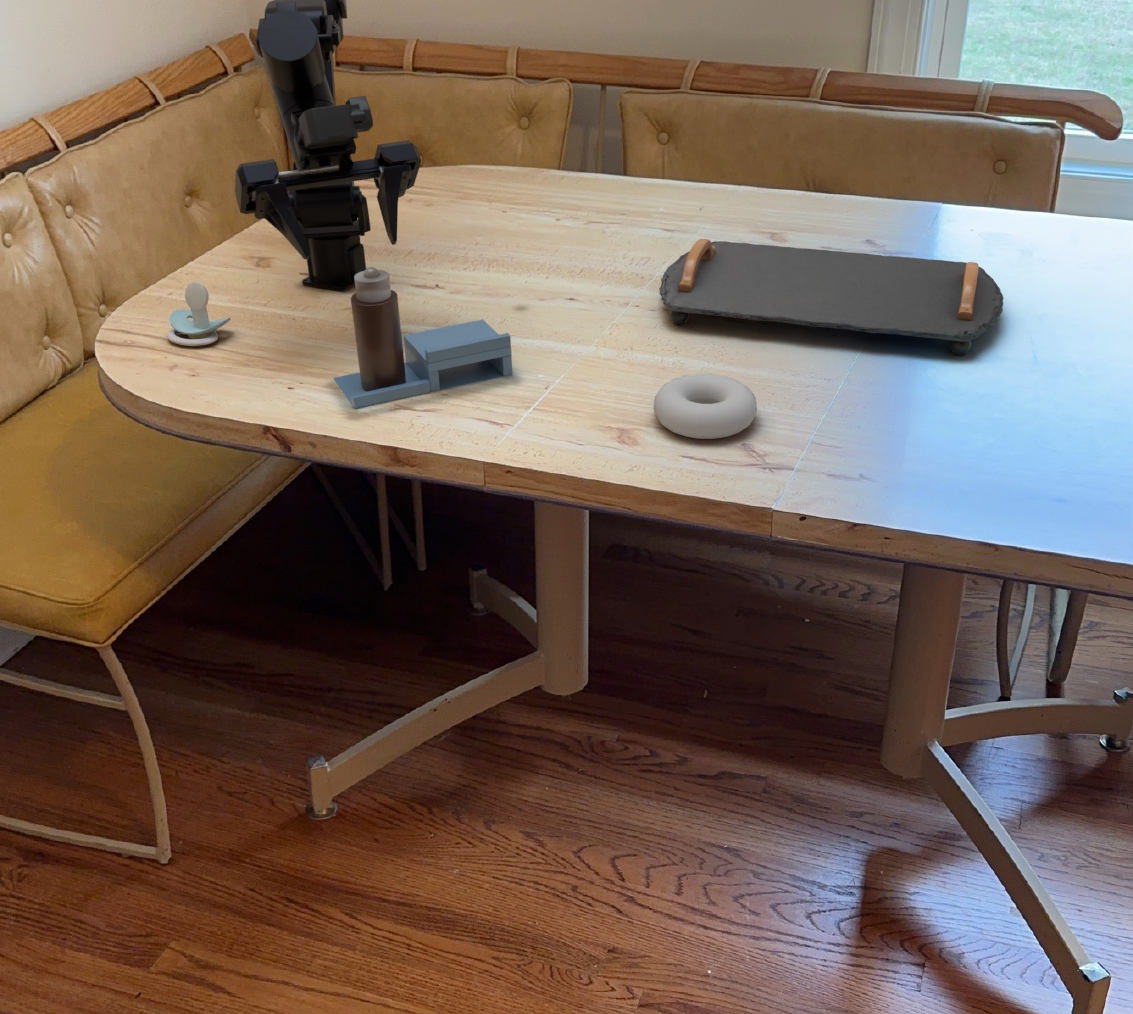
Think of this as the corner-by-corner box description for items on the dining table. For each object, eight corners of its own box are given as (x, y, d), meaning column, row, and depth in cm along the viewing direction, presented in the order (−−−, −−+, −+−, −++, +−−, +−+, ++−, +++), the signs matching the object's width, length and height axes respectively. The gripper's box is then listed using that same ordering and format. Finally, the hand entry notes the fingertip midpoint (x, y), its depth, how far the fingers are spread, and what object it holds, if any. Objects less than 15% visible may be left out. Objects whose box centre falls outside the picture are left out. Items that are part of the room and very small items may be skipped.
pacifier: (206, 353, 134) (240, 332, 139) (195, 301, 131) (230, 280, 135) (155, 343, 137) (190, 322, 141) (142, 292, 133) (178, 272, 138)
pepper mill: (352, 389, 124) (337, 272, 117) (376, 371, 127) (363, 256, 120) (391, 397, 122) (378, 278, 115) (414, 378, 125) (403, 262, 119)
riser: (333, 384, 126) (327, 338, 124) (484, 352, 132) (482, 308, 130) (355, 415, 120) (349, 368, 118) (513, 381, 126) (510, 335, 123)
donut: (743, 396, 122) (646, 400, 122) (746, 365, 120) (647, 369, 120) (766, 443, 114) (661, 448, 113) (769, 410, 112) (662, 415, 111)
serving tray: (1001, 288, 145) (1010, 237, 142) (996, 367, 126) (1006, 312, 123) (686, 258, 156) (688, 211, 152) (639, 328, 137) (639, 276, 134)
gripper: (220, 80, 115) (264, 226, 113) (407, 59, 122) (452, 196, 119) (219, 144, 126) (259, 279, 123) (391, 121, 132) (432, 249, 129)
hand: (351, 250), depth 123 cm, fingers open, 9 cm apart
